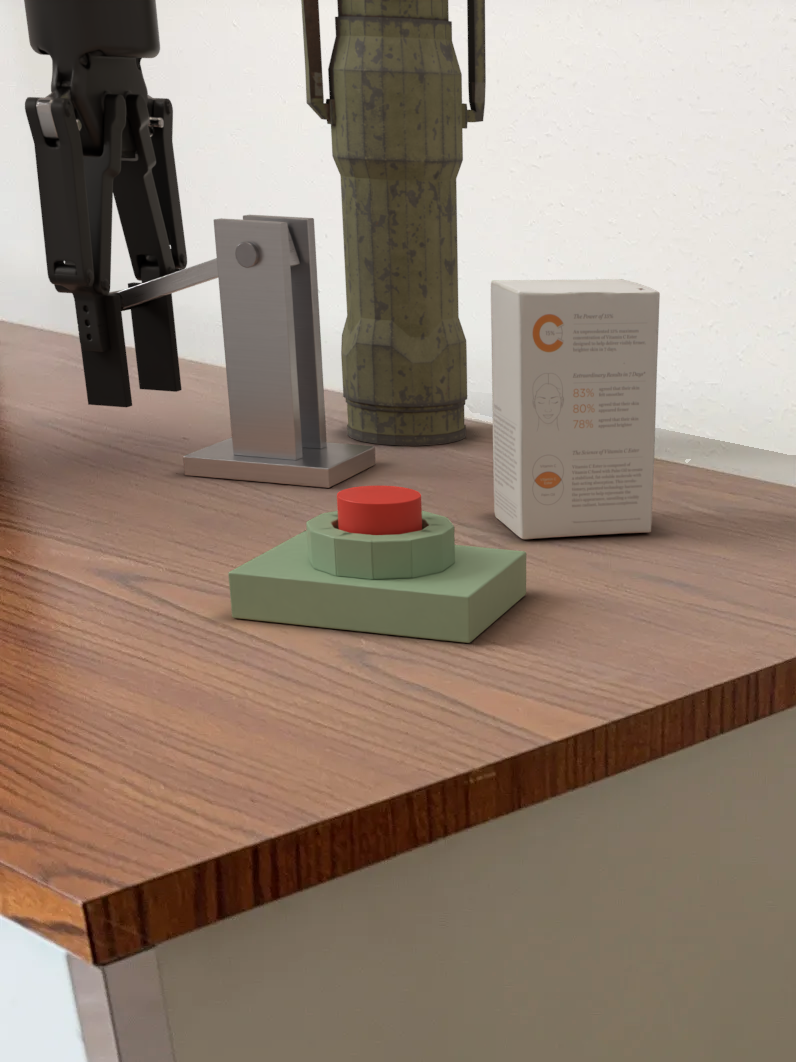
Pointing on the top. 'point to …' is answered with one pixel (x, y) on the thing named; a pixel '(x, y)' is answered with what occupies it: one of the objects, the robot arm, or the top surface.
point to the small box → (573, 405)
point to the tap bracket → (273, 361)
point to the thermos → (399, 208)
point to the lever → (178, 282)
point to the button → (379, 510)
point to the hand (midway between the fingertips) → (136, 396)
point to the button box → (380, 582)
